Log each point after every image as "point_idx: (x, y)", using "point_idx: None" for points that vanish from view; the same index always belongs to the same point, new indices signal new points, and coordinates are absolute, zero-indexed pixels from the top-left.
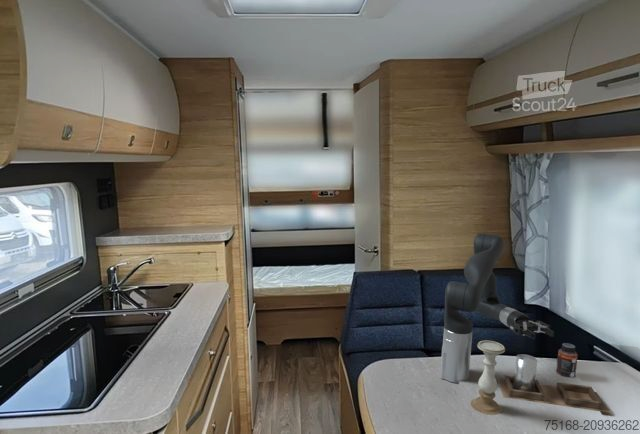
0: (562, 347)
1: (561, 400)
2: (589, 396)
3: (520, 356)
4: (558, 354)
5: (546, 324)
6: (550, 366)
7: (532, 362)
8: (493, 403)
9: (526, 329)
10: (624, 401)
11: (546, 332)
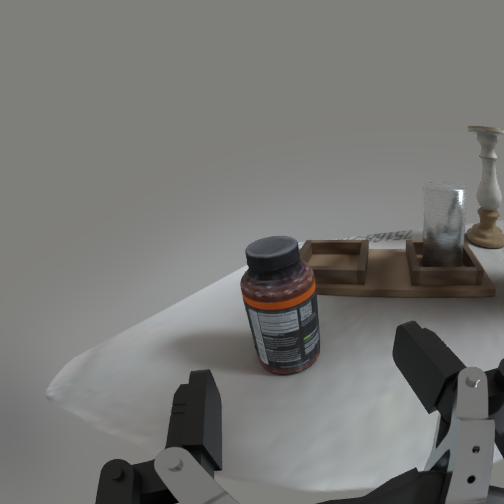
0: (299, 254)
1: (372, 257)
2: None
3: (458, 188)
4: (314, 289)
5: (106, 501)
6: (301, 413)
7: (432, 182)
8: (478, 227)
9: (463, 375)
10: (231, 282)
11: (217, 447)
